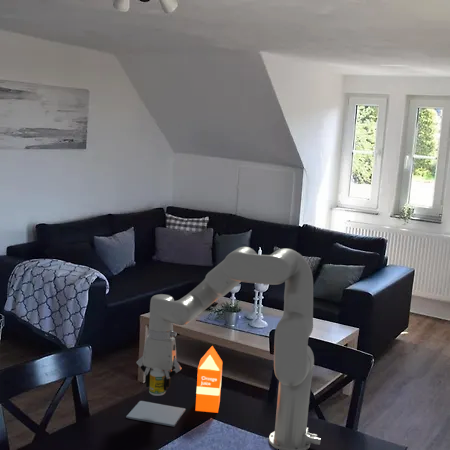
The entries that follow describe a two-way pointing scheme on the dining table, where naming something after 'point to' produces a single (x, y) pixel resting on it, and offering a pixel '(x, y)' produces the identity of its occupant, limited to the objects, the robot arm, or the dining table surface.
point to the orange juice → (209, 382)
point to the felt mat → (156, 413)
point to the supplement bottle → (157, 382)
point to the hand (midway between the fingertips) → (157, 386)
